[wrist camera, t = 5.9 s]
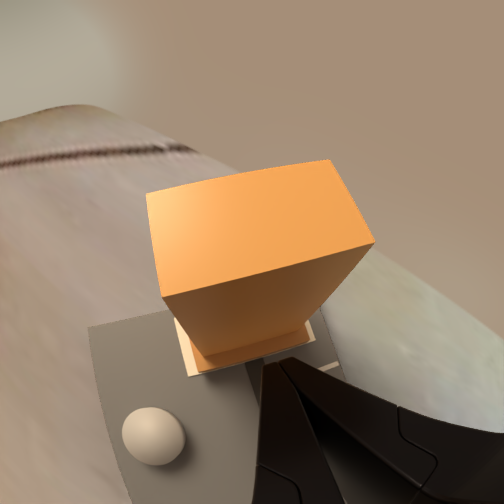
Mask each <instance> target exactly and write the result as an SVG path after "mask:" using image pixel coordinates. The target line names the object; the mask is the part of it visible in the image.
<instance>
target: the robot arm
mask: <svg viewBox="0 0 504 504" xmlns="http://www.w3.org/2000/svg"><path fill="white" fill-rule="evenodd" d="M342 496H343V497H342ZM343 498H344V499H345V501H346V502H347V504H504V433H495V432H488V431H483V430H478V429H473V428H469V427H464V426H460V425H455V424H451V423H447V422H444V421H440V420H437V419H433V418H430V417H427V416H424V415H421V414H419V413H416V412H413V411H411V410H408V409H406V408H403V407H401V406H398V407H397V405H396V404H393V403H391V402H389V401H386V400H384V399H382V398H379V397H377V396H375V395H373V394H370V393H368V392H366V391H364V390H361V389H359V388H357V387H355V386H353V385H351V384H348V383H346V382H344V381H342V380H340V379H338V378H336V377H334V376H332V375H329V374H327V373H325V372H323V371H321V370H319V369H317V368H315V367H313V366H311V365H309V364H307V363H305V362H303V361H301V360H299V359H297V358H295V357H292V356H291V357H287V358H284V359H281V360H279V361H278V362H272V363H268V364H265V365H263V366H262V374H261V392H260V409H259V425H258V440H257V455H256V467H255V480H254V489H253V497H252V502H251V504H345V502H344V499H343Z"/></svg>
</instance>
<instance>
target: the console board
mask: <svg viewBox="0 0 504 504" xmlns="http://www.w3.org/2000/svg"><path fill="white" fill-rule="evenodd" d="M305 326H306V329H307V332H308V334H309V337H310V340H309V341H308V342H307V343H305V344H302V345H299V346H295V347H292V348H289V349H286V350H283V351H280V352H277V353H273V354H270V355H267V356H263V357H260V358H257V359H253V360H250V361H246V362H242V363H239V364H235V365H231V366H228V367H224V368H220V369H216V370H212V371H208V372H204V373H198V371H197V367H196V363H195V360H194V356H193V352H192V348H191V344H190V340H189V337H188V335H187V334H186V332H185V331H184V330H183V328H182V327H181V325H180V324H179V322H178V321H177V319H176V318H175V316H174V315H173V314H172V312H171V311H170V309H169V310H165V311H161V312H156V313H152V314H148V315H143V316H139V317H134V318H130V319H125V320H121V321H116V322H112V323H107V324H102V325H98V326H93V327H88V334H89V341H90V348H91V355H92V361H93V367H94V372H95V378H96V383H97V388H98V393H99V397H100V402H101V406H102V410H103V414H104V418H105V422H106V426H107V430H108V433H109V437H110V440H111V444H112V447H113V450H114V454H115V457H116V460H117V463H118V466H119V469H120V472H121V475H122V477H123V480H124V483H125V486H126V488H127V491H128V493H129V496H130V498H131V501H132V503H133V504H251V502H252V497H253V489H254V480H255V467H256V455H257V440H258V425H259V409H260V392H261V374H262V366H263V365H265V364H268V363H272V362H278V361H279V360H281V359H284V358H287V357H291V356H292V357H295V358H297V359H299V360H301V361H303V362H305V363H307V364H309V365H311V366H313V367H315V368H317V369H319V370H321V371H323V372H325V373H327V374H329V375H332V376H334V377H336V378H338V379H340V380H342V381H344V382H346V379H345V377H344V374H343V371H342V368H341V365H340V362H339V360H338V357H337V354H336V351H335V349H334V346H333V343H332V340H331V338H330V335H329V332H328V329H327V327H326V324H325V321H324V319H323V316H322V313H321V311H320V308H318V309H317V311H316V312H315V313H314V314H313V315H312V316H311V317H310V318H309V319H308V320H307V321H306V322H305ZM346 383H347V382H346ZM342 497H343V496H342ZM343 499H344V498H343ZM344 502H345V504H347V502H346V501H345V499H344Z"/></svg>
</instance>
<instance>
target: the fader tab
mask: <svg viewBox="0 0 504 504" xmlns="http://www.w3.org/2000/svg"><path fill="white" fill-rule="evenodd" d="M146 199H147V207H148V215H149V223H150V230H151V237H152V244H153V250H154V257H155V263H156V269H157V274H158V280H159V285H160V291H161V296H162V298H163V300H164V301H165V303H166V305H167V306H168V308H169V309H170V311H171V312H172V314H173V315H174V316H175V318H176V319H177V321H178V322H179V324H180V325H181V327H182V328H183V330H184V331H185V332H186V334H187V335H188V337H189V340H190V344H191V348H192V352H193V356H194V360H195V363H196V367H197V371H198V373H204V372H208V371H212V370H216V369H220V368H224V367H228V366H231V365H235V364H239V363H242V362H246V361H250V360H253V359H257V358H260V357H263V356H267V355H270V354H273V353H277V352H280V351H283V350H286V349H289V348H292V347H295V346H299V345H302V344H305V343H307V342H308V341H309V340H310V337H309V334H308V332H307V329H306V326H305V322H306V321H307V320H308V319H309V318H310V317H311V316H312V315H313V314H314V313H315V312H316V311H317V309H318V308H319V307H320V306H321V305H322V304H323V303H324V302H325V301H326V300H327V298H328V297H329V296H330V295H331V294H332V293H333V292H334V291H335V289H336V288H337V287H338V286H339V285H340V284H341V283H342V281H343V280H344V279H345V278H346V277H347V276H348V274H349V273H350V272H351V271H352V270H353V269H354V267H355V266H356V265H357V264H358V263H359V261H360V260H361V259H362V258H363V257H364V255H365V254H366V253H367V252H368V251H369V249H370V248H371V247H372V246H373V244H374V243H375V240H374V238H373V236H372V234H371V232H370V230H369V228H368V226H367V225H366V223H365V221H364V219H363V217H362V215H361V213H360V212H359V210H358V208H357V206H356V204H355V202H354V200H353V199H352V197H351V195H350V193H349V192H348V190H347V188H346V187H345V185H344V183H343V181H342V179H341V178H340V176H339V174H338V173H337V171H336V170H335V168H334V166H333V164H332V163H331V161H330V160H322V161H314V162H307V163H300V164H294V165H287V166H281V167H274V168H268V169H262V170H256V171H251V172H245V173H240V174H234V175H229V176H224V177H219V178H214V179H209V180H204V181H200V182H195V183H190V184H186V185H181V186H177V187H173V188H168V189H164V190H160V191H156V192H152V193H148V194H146Z"/></svg>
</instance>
